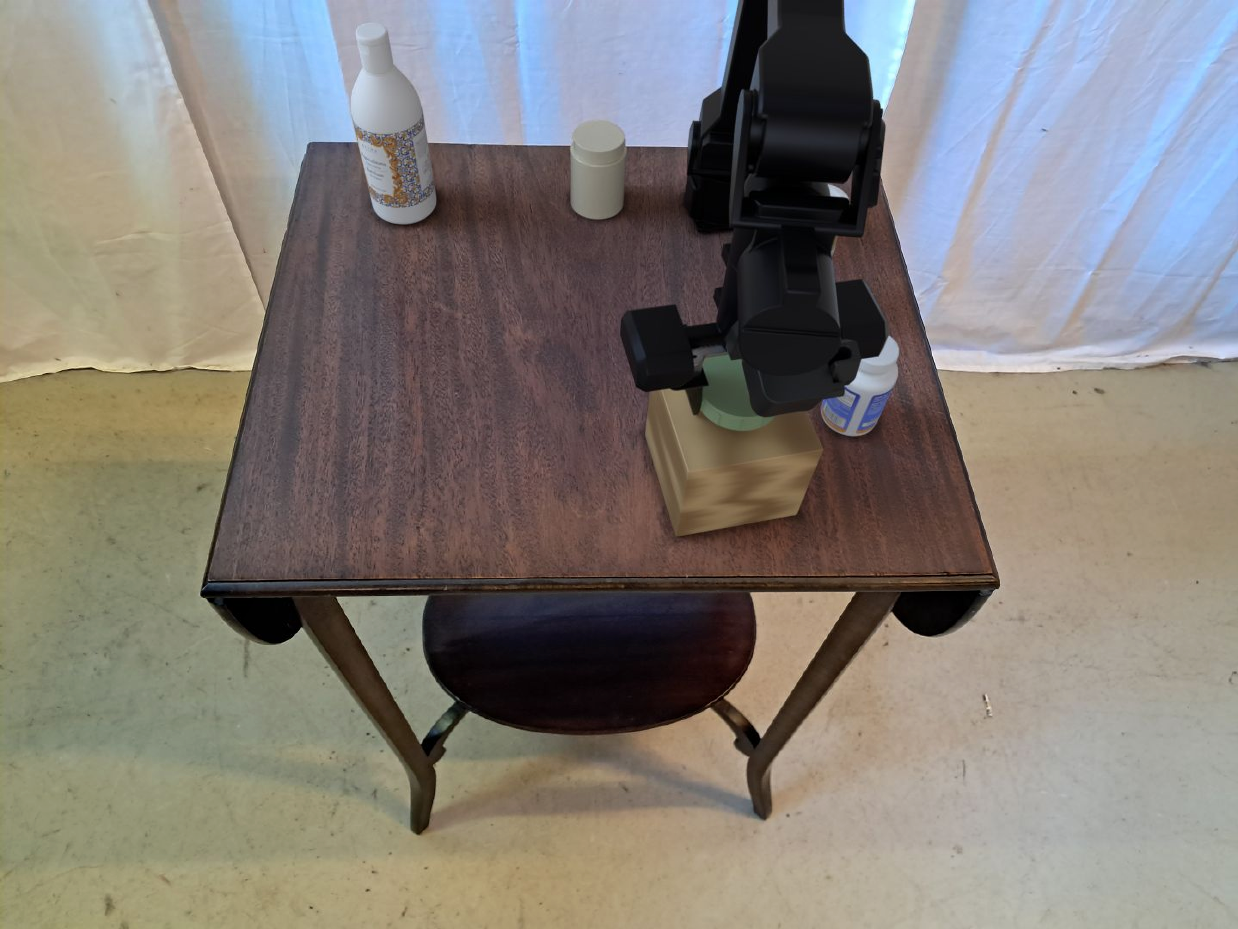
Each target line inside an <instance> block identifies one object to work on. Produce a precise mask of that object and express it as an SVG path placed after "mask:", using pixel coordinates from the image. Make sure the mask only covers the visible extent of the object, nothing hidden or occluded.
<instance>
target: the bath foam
mask: <svg viewBox="0 0 1238 929" xmlns="http://www.w3.org/2000/svg"><path fill="white" fill-rule="evenodd" d="M355 38H356V44H357V48H358V53H359V57H360V62H361V66H362V68H361V70H360V71H359V73H358V75H357V78H356V80H355V82H354V85H353V87H352V91H351V96H350V113H351V121H352V124H353V129H354V132H355V138H356V141H357V145H358V151H359V154H360V158H361V162H362V168H363V172H364V175H365V179H366V184H367V188H368V193H369V196H370V201H371V204H372V208H373V210H374V213H376V215H377V216H378V217H379V218H381V219H382V220H384V221H386V222H388V223H390V224H395V225H412V224H416V223H419V222H421V221H423V220H425V219H426V218H427V217H428V216H429V215H431V214H432V213H433V211H434V210H435V208H436V206H437V193H436V186H435V180H434V173H433V166H432V159H431V154H430V148H429V141H428V135H427V128H426V122H425V115H424V111H423V110H424V109H423V105H422V103H421V99H420V96H419V94H418V92H417V90H416V88H415V87H414V85H413V84H412V82H411V80H409V78H408V77H407V76H406V75H405V74H404V73H403V71H401V70H400V69H399V68H398V66H397V65H395V64H394V58H393V53H392V47H391V40H390V35H389V31H388V28H387V27H386V26H385V25H384V24H382V23H379V22H365V23H363V24H360V25H359V26H357V28H356V29H355Z"/></svg>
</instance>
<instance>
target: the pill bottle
mask: <svg viewBox="0 0 1238 929" xmlns="http://www.w3.org/2000/svg"><path fill="white" fill-rule="evenodd" d="M899 355H900V348H899V345H898V343H897V342H896V340H895V339H894V338H893V337H892V336H890V335H889V336H888V339H887V341H886V343H885V346H884V348H883V350H882V352H881V353H880V355H879V357H873V358H866V359H861V363H860V366H859V369H858V373H857V376H856V378H855V380H854V381H853V382H852V383H850V384H849V385H846V386H844V388H845V394H844V396H842V397H836V398H830V399H824V400H822V401H821V406H820V414H821V418H822V420H823V421H824V423H825V425H827V426H828V427H829V428H830V429H831V430H833V431H834V432H835V433H838V434H841V435H842V436H843V435H844V436H848V437H859V436H863V435H866V434H868V433H870V432H871V431H872V430H873V429H874V428H875V426H876V425H877V424H878V421H879V419H880V417H881V415H882V413H883V411H884V408H885V407H886V404H887V402H888V400H889V398H890V396H891V394H892V391H893V389H894V387H895V385H896V382H897V380H898V377H899V367H898V364H897V361H898V359H899Z"/></svg>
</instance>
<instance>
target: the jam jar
mask: <svg viewBox="0 0 1238 929" xmlns="http://www.w3.org/2000/svg"><path fill="white" fill-rule="evenodd" d="M571 139H572V140H571V144H570V147H569V154H570V155H569V158H570V160H569V162H570V168H569V171H570V172H569V177H570V178H569V179H570V181H569V185H570V186H569V187H570V191H569V192H570V193H569V194H570V197H569V198H570V207H571V208H572V209H573V211H574V212H575V213H577V215H579V216H581V217H583V218H586V219H589V220H606V219H609V218H612V217H615V216H616V215H618V214H619V213H621V211H622V209H623V207H624V204H625V203H624V202H625V189H626V186H625V185H626V173H627V172H626V170H627V154H628V148H627V145H626V135H625V133H624V130H623V129H622V128H621V126H619V125H618V124H616V123H614V122H611V121H608V120H603V119H595V120H594V119H593V120H587V121H585V122H582V123H580V124H579V125H578V126H576V128H574V130H573V132H572V133H571Z"/></svg>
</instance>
